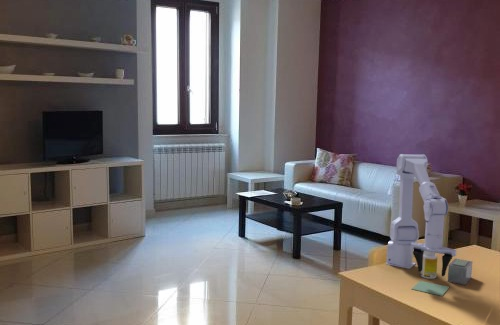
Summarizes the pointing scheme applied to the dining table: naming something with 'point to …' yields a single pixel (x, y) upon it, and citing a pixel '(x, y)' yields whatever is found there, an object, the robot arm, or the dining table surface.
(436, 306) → the dining table surface
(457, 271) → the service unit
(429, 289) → the pad
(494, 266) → the dining table surface
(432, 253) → the supplement bottle
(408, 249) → the robot arm
